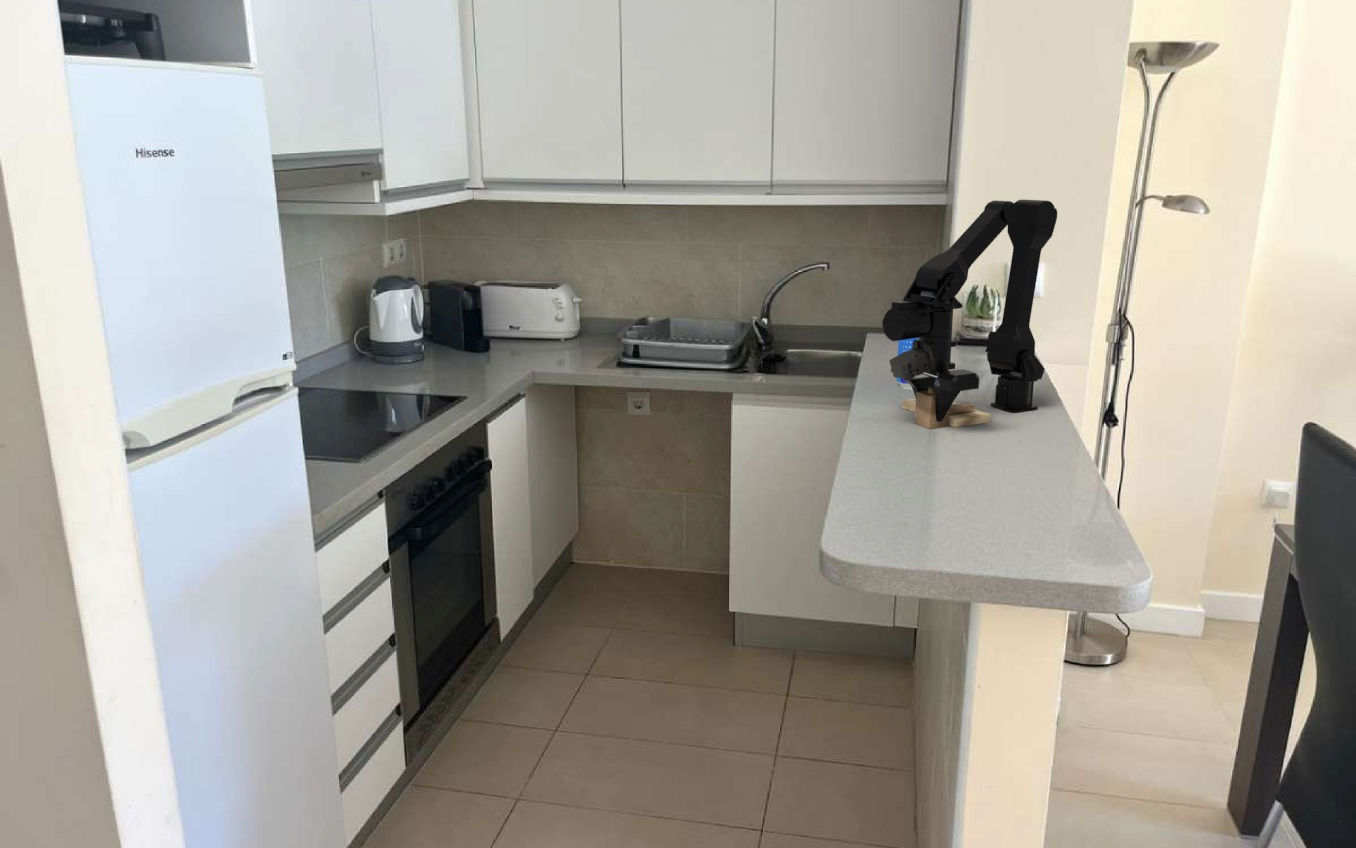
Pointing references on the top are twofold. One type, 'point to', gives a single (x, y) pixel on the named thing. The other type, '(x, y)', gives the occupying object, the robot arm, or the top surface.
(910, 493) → the top surface
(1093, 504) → the top surface
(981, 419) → the board
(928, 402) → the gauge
